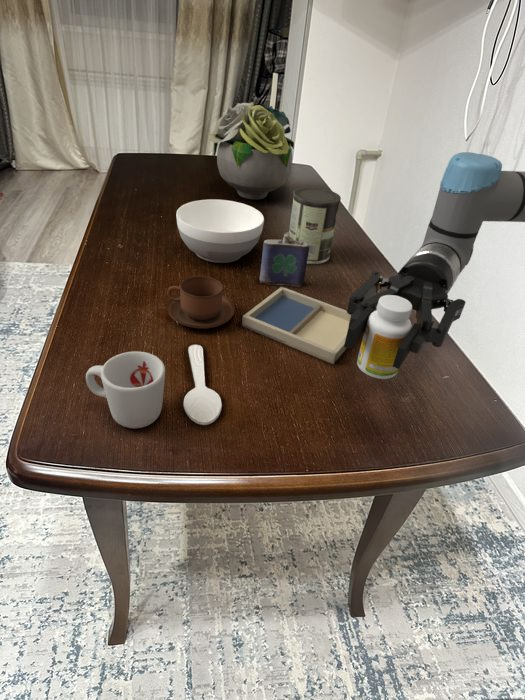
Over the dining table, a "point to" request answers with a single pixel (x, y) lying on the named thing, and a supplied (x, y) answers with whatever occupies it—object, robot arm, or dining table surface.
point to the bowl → (219, 229)
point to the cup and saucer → (200, 303)
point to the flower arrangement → (253, 149)
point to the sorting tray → (301, 323)
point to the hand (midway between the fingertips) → (373, 348)
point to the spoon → (201, 392)
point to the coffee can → (314, 221)
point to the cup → (131, 387)
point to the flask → (284, 261)
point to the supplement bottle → (384, 336)
